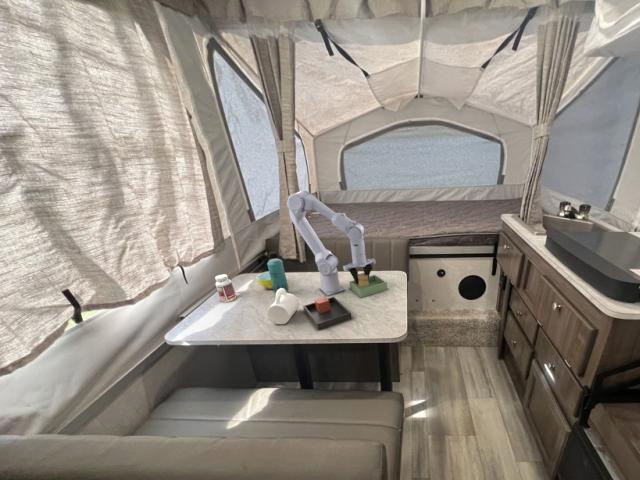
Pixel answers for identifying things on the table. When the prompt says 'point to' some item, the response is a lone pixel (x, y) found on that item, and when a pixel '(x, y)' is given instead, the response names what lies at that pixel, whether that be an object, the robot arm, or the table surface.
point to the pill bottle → (225, 288)
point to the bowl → (265, 280)
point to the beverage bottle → (277, 272)
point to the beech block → (362, 280)
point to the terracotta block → (322, 305)
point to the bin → (369, 286)
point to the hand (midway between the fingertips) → (361, 282)
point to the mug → (282, 307)
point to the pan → (327, 314)
